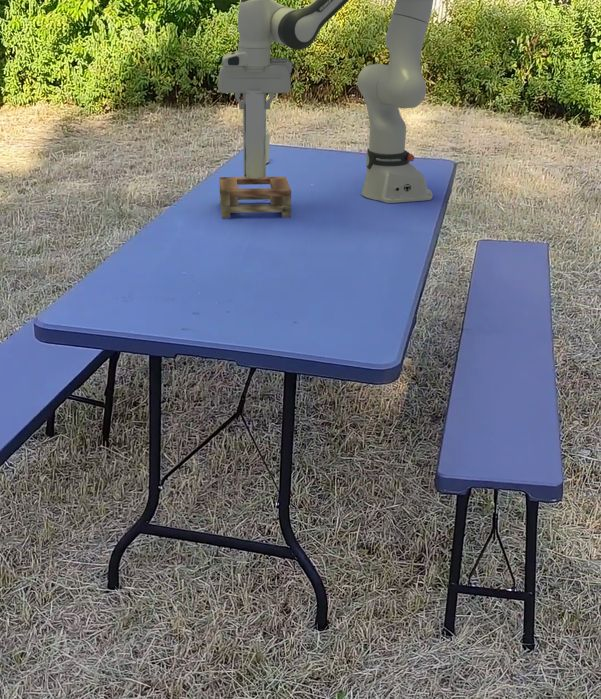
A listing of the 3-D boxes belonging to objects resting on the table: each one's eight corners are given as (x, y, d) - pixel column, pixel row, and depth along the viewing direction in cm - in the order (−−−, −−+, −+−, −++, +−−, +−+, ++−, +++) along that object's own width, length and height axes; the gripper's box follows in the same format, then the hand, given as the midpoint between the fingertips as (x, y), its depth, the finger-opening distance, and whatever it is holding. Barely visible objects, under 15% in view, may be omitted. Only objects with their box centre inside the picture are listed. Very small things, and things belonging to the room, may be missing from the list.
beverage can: (244, 164, 300) (244, 130, 295) (249, 159, 307) (249, 125, 302) (266, 166, 299) (266, 131, 294) (271, 160, 306) (271, 127, 301)
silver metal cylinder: (265, 179, 247) (265, 90, 235) (242, 179, 247) (241, 90, 235) (266, 173, 252) (266, 86, 241) (244, 172, 252) (243, 85, 241)
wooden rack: (285, 202, 262) (285, 176, 258) (290, 217, 248) (291, 190, 245) (220, 203, 259) (219, 177, 256) (221, 218, 246) (221, 191, 243)
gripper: (290, 56, 238) (290, 106, 245) (217, 55, 236) (218, 106, 242) (293, 59, 233) (292, 111, 239) (217, 59, 231) (219, 111, 237)
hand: (254, 109), depth 241 cm, fingers closed on silver metal cylinder, 6 cm apart
